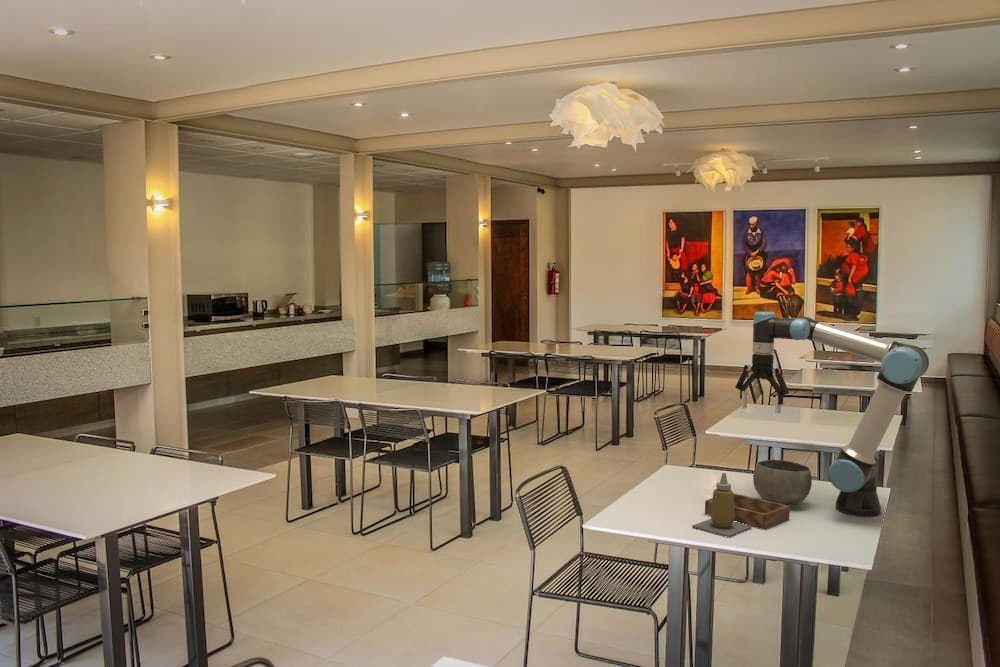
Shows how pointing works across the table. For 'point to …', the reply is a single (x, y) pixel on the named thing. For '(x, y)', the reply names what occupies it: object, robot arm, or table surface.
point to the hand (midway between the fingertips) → (760, 410)
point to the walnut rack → (756, 511)
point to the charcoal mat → (728, 532)
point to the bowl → (782, 481)
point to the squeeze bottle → (723, 504)
